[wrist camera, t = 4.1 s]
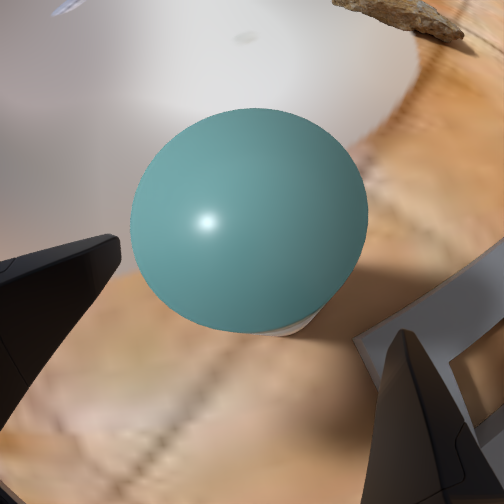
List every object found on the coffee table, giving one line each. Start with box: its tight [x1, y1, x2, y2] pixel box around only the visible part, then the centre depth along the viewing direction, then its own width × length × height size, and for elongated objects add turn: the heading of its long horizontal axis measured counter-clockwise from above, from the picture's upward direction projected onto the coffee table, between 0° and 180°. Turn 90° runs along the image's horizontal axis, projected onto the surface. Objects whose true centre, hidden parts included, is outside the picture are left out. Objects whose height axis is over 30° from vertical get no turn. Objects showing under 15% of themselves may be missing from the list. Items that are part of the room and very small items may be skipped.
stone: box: [332, 0, 464, 42], centre depth 22 cm, size 14×7×5 cm, turn 64°
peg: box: [130, 108, 368, 336], centre depth 12 cm, size 4×4×12 cm
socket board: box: [352, 237, 504, 489], centre depth 13 cm, size 17×13×2 cm
